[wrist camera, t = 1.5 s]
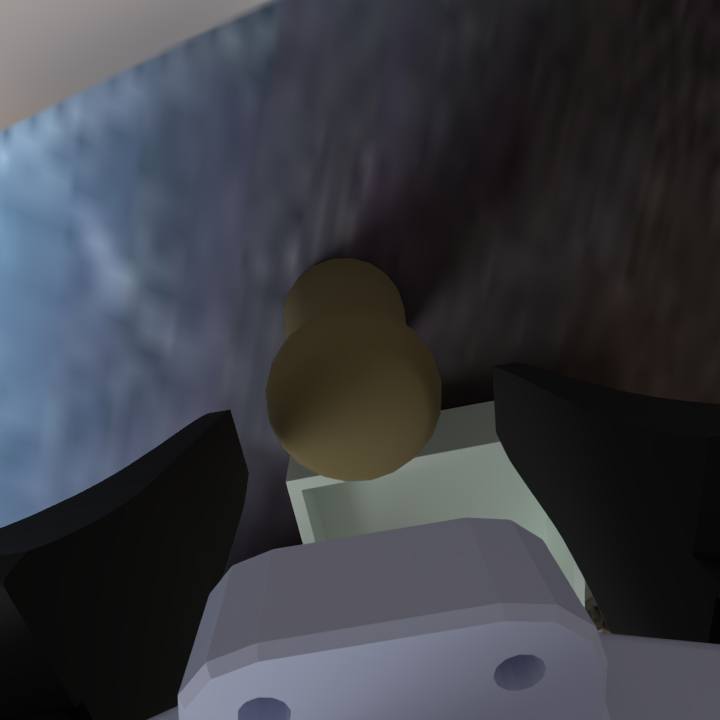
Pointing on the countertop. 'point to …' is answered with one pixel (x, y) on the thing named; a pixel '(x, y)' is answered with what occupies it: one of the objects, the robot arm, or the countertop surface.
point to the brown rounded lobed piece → (351, 375)
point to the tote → (431, 490)
